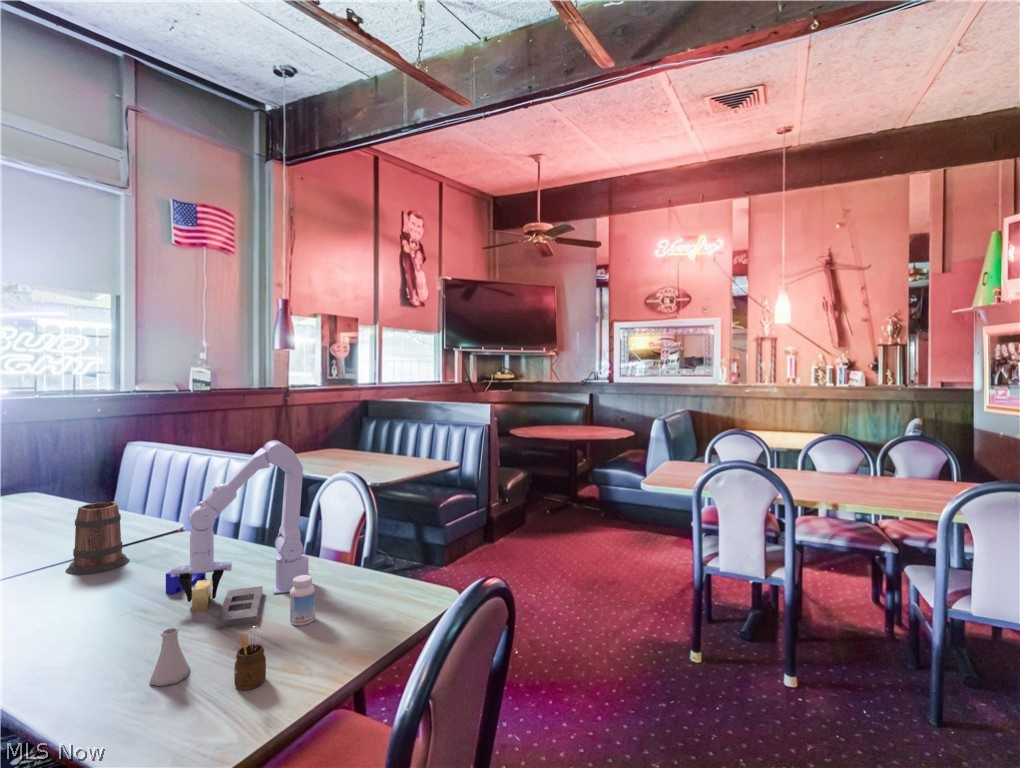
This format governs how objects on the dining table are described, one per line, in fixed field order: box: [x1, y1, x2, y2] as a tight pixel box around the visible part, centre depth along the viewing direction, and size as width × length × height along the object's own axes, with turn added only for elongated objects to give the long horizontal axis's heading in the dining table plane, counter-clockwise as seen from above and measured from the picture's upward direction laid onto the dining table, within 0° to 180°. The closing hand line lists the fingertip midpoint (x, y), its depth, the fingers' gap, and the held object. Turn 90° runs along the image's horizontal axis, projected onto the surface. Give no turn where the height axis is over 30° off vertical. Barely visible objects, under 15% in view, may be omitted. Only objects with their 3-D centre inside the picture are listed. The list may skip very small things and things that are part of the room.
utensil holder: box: [233, 625, 267, 691], centre depth 111 cm, size 6×6×12 cm
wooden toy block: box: [191, 578, 213, 613], centre depth 148 cm, size 4×8×6 cm, turn 21°
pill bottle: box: [289, 575, 316, 626], centre depth 139 cm, size 6×6×11 cm
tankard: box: [65, 501, 131, 576], centre depth 178 cm, size 24×17×20 cm
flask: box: [148, 626, 191, 687], centre depth 113 cm, size 7×7×10 cm
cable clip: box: [165, 571, 207, 595], centre depth 161 cm, size 12×4×6 cm, turn 169°
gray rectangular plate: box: [216, 585, 264, 630], centre depth 145 cm, size 9×20×2 cm, turn 21°
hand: (202, 598), depth 148 cm, fingers open, 5 cm apart
